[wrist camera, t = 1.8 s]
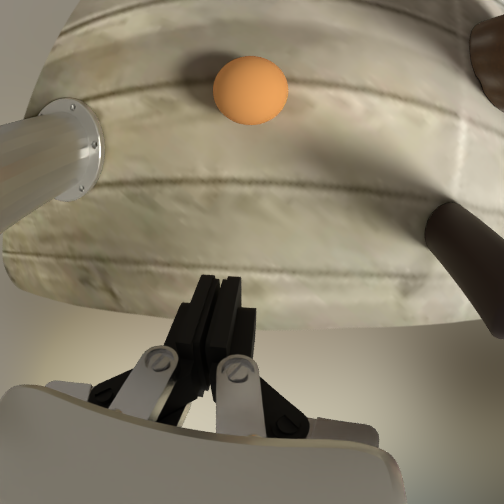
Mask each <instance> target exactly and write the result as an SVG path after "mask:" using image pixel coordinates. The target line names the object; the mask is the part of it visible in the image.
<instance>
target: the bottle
mask: <svg viewBox="0 0 504 504" xmlns="http://www.w3.org/2000/svg"><path fill="white" fill-rule="evenodd" d="M425 240H426V244H427V246H428V248H429V249H430V251H431V252H432V253H433V254H434V255H435V257H436V258H437V259H438V260H439V262H440V263H441V264H442V265H443V266H444V268H445V269H446V270H447V271H448V273H449V274H450V275H451V277H452V278H453V279H454V280H455V282H456V283H457V284H458V286H459V287H460V288H461V290H462V291H463V292H464V294H465V295H466V297H467V298H468V299H469V301H470V302H471V304H472V305H473V307H474V308H475V309H476V311H477V312H478V314H479V315H480V317H481V318H482V320H483V321H484V323H485V324H486V326H487V328H488V329H489V331H490V332H491V334H492V335H493V336H494V337H496V338H499V339H504V239H503V238H502V237H500V236H499V235H498V234H497V233H496V232H495V231H493V230H492V229H491V228H490V227H488V226H487V225H486V224H485V223H483V222H482V221H481V220H480V219H478V218H477V217H476V216H474V215H473V214H472V213H470V212H469V211H468V210H466V209H465V208H464V207H462V206H461V205H460V204H456V203H445V204H444V205H442V206H440V207H438V208H437V209H436V210H435V211H434V212H433V213H432V215H431V217H430V218H429V220H428V222H427V225H426V229H425Z"/></svg>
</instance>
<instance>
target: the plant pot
mask: <svg viewBox="0 0 504 504" xmlns="http://www.w3.org/2000/svg"><path fill="white" fill-rule="evenodd" d="M470 56H471V62H472V66H473V69H474V72H475V75H476V76H477V77H478V78H479V80H480V81H481V84H482V87H483V91H484V93H485V94H486V96H487V97H488V99H489V100H490V101H491V102H492V103H493V104H494V105H495V106H496V107H497V108H498V109H499V110H501V111H502V112H504V14H503V15H501V16H498V17H495V18H492V19H489V20H486V21H483V22H481V23H479V24H477V25H476V26H475V27H474V28H473V30H472V33H471V36H470Z"/></svg>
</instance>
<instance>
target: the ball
mask: <svg viewBox="0 0 504 504" xmlns="http://www.w3.org/2000/svg"><path fill="white" fill-rule="evenodd" d="M213 96H214V100H215V103H216V105H217V107H218V108H219V110H220V111H221V112H222V113H223V115H225V116H226V117H227V118H229V119H230V120H232V121H234V122H237V123H240V124H244V125H256V124H261V123H265V122H267V121H269V120H271V119H273V118H274V117H275V116H277V115H278V114H279V113H280V111H281V110H282V109H283V107H284V105H285V103H286V101H287V97H288V85H287V81H286V78H285V76H284V74H283V72H282V71H281V70H280V69H279V67H278V66H276V65H275V64H274V63H272V62H271V61H269V60H267V59H265V58H261V57H256V56H245V57H240V58H237V59H234V60H232V61H230V62H229V63H227V64H226V65H225V66H224V67H223V68H222V69H221V70H220V71H219V73H218V74H217V76H216V78H215V81H214V85H213Z"/></svg>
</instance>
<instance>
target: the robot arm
mask: <svg viewBox="0 0 504 504" xmlns="http://www.w3.org/2000/svg"><path fill="white" fill-rule="evenodd" d="M104 155H105V144H104V136H103V131H102V128H101V125H100V122H99V120H98V118H97V116H96V115H95V113H94V112H93V110H92V109H91V108H90V107H89V106H88V105H87V104H85V103H84V102H82V101H80V100H78V99H75V98H63V99H58V100H55V101H53V102H51V103H49V104H48V105H46V106H45V107H44V108H43V109H42V110H41V112H40V113H39V115H38V116H37V117H32V118H28V119H24V120H20V121H16V122H12V123H9V124H5V125H1V126H0V234H1V233H3V232H4V231H5V230H7V229H8V228H9V227H11V226H12V225H14V224H15V223H17V222H18V221H19V220H21V219H22V218H24V217H25V216H27V215H28V214H30V213H31V212H33V211H34V210H36V209H38V208H39V207H41V206H42V205H44V204H46V203H47V202H49V201H50V200H52V199H56V200H59V201H65V202H69V201H74V200H77V199H79V198H81V197H82V196H84V195H85V194H87V193H88V192H89V191H90V190H91V189H92V188H93V187H94V185H95V184H96V182H97V181H98V179H99V176H100V174H101V171H102V167H103V163H104ZM255 330H256V308H244V307H241V277H232V276H228V278H227V280H226V279H223V281H222V284H221V288H220V281H219V279H215V276H214V275H201V277H200V280H199V282H198V285H197V287H196V290H195V292H194V295H193V297H192V300H191V302H190V303H184V302H183V303H181V305H180V307H179V309H178V312H177V314H176V317H175V319H174V322H173V324H172V326H171V329H170V331H169V334H168V336H167V338H166V341H165V343H164V346H162V345H160V346H154V347H151V348H149V349H148V350H147V351H145V353H144V354H143V355H142V356H141V358H140V359H139V361H138V362H137V364H136V366H135V367H134V368H133V369H131V370H129V371H126V372H124V373H122V374H120V375H118V376H115V377H113V378H111V379H109V380H106V381H104V382H102V383H99V384H98V385H97V386H95V387H93V386H92V385H91V384H84V383H73V382H65V381H51V382H49V383H48V384H47V385H46V386H45V387H44V386H38V385H18V386H14V387H12V388H10V389H9V390H8V391H7V392H6V393H5V394H4V395H3V396H2V398H1V399H0V504H407V499H406V492H405V487H404V482H403V478H402V474H401V471H400V469H399V466H398V464H397V462H396V460H395V459H394V458H393V457H392V455H390V454H389V453H388V452H386V451H384V450H382V449H380V448H378V447H379V434H378V432H377V431H376V429H374V428H373V427H372V426H370V425H366V424H359V423H352V422H344V421H338V420H331V419H325V418H320V417H318V418H317V419H313V418H307V417H306V416H305V415H304V414H303V413H302V412H301V411H299V410H298V409H297V408H296V407H295V406H293V405H292V404H291V403H290V402H289V401H287V400H286V399H285V398H284V397H283V396H282V395H280V394H279V393H278V392H277V391H276V390H275V389H273V388H272V387H271V386H270V385H269V384H268V383H267V382H265V381H264V380H263V379H262V378H261V377H260V376H259V369H258V366H257V363H256V362H255V361H254V360H253V351H254V342H255ZM210 385H211V390H212V396H213V401H214V402H215V403H216V433H212V432H205V431H198V430H192V429H187V428H181V427H182V425H183V423H184V420H185V418H186V416H187V414H188V412H189V409H190V407H191V402H192V401H194V400H195V399H197V397H198V396H199V397H203V394H204V390H206V391H208V390H209V386H210Z"/></svg>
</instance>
